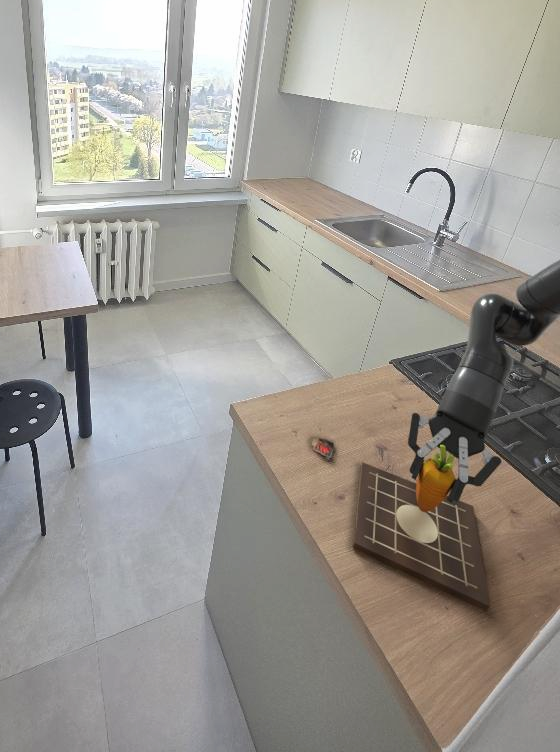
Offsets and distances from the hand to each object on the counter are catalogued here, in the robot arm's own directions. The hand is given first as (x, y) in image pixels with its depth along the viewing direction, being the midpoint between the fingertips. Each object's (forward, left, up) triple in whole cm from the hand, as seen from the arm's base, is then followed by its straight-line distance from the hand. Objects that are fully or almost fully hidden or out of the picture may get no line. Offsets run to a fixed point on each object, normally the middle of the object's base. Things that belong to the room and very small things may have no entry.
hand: (431, 489), depth 71 cm
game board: (-1, -2, -13) cm, 13 cm away
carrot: (-1, -2, -8) cm, 8 cm away
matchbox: (+17, -12, -13) cm, 24 cm away
